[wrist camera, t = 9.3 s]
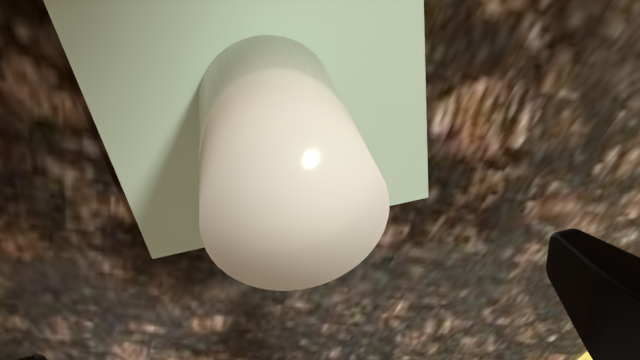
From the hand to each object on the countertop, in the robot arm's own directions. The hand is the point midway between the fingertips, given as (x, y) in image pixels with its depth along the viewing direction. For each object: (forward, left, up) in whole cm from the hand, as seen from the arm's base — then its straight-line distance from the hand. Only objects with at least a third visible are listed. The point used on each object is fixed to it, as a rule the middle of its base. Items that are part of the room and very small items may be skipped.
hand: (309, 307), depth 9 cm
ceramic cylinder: (0, 0, -8) cm, 8 cm away
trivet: (0, 0, -9) cm, 9 cm away
